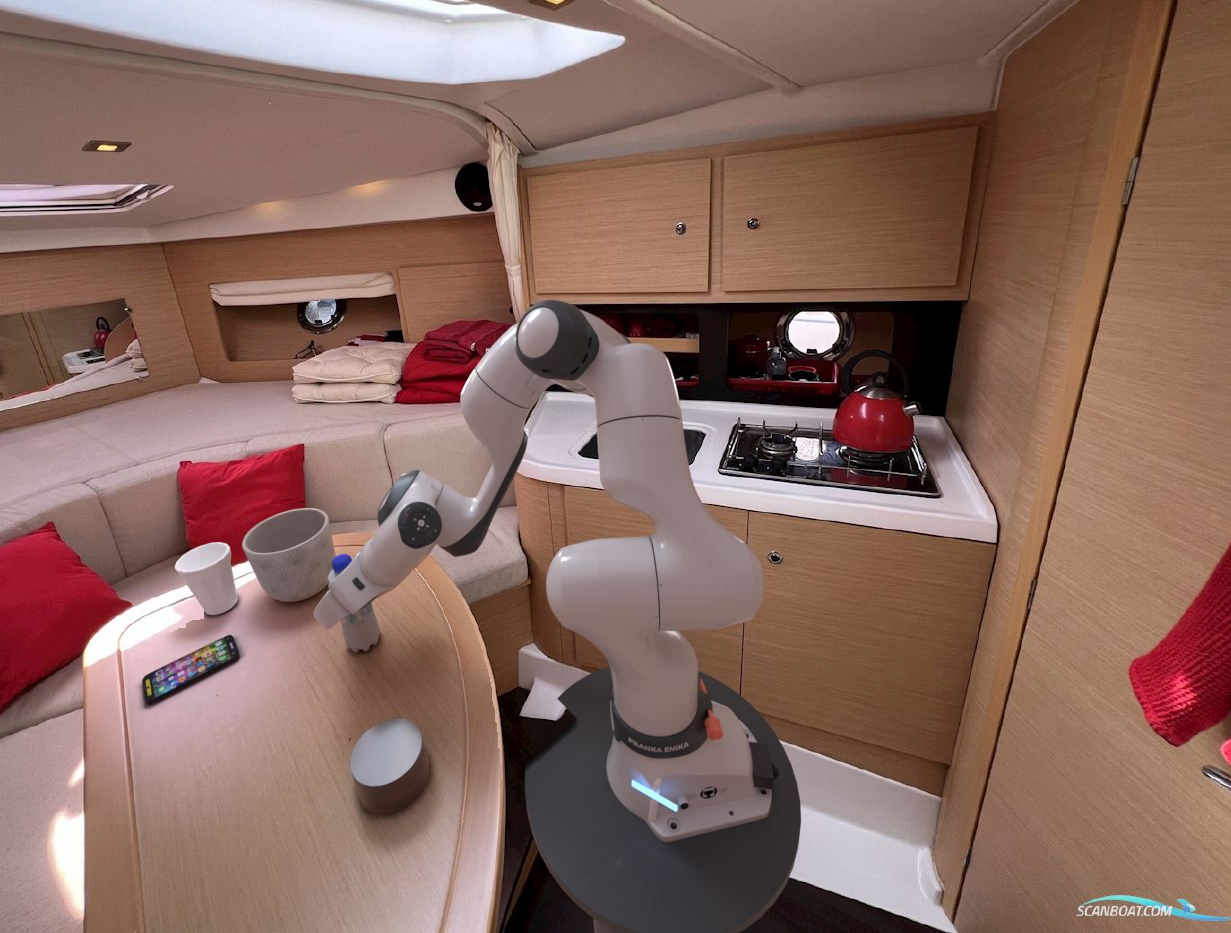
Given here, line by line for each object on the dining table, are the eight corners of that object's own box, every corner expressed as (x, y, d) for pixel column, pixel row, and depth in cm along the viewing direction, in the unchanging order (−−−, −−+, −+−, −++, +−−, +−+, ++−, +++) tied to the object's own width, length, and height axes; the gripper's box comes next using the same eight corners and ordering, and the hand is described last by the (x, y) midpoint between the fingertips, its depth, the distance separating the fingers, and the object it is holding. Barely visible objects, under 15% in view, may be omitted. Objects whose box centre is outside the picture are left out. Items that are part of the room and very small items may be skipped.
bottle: (344, 638, 105) (318, 553, 97) (379, 624, 107) (357, 541, 100) (349, 662, 99) (322, 574, 92) (385, 646, 102) (362, 560, 94)
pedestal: (436, 744, 83) (429, 716, 81) (419, 814, 74) (411, 785, 71) (373, 746, 83) (364, 718, 81) (348, 815, 74) (337, 787, 72)
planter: (359, 579, 121) (343, 522, 115) (285, 626, 109) (263, 565, 103) (321, 553, 131) (304, 499, 126) (249, 593, 120) (228, 536, 114)
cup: (257, 598, 118) (239, 549, 113) (210, 629, 110) (188, 578, 105) (232, 584, 123) (214, 537, 118) (186, 613, 115) (164, 563, 110)
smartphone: (240, 655, 102) (144, 704, 93) (241, 658, 102) (146, 707, 93) (231, 632, 107) (141, 676, 99) (233, 636, 108) (143, 680, 99)
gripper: (411, 517, 100) (383, 548, 108) (321, 588, 83) (296, 619, 91) (434, 542, 99) (404, 572, 107) (348, 619, 83) (321, 647, 91)
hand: (354, 594), depth 99 cm, fingers open, 8 cm apart
